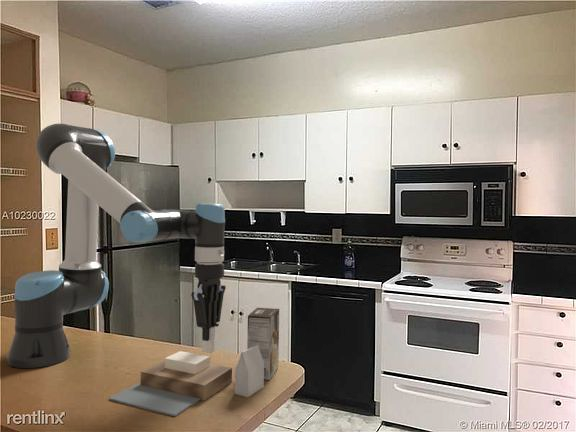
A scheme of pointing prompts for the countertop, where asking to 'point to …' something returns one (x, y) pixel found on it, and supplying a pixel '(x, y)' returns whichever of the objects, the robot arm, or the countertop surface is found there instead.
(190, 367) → the tile
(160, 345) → the countertop surface
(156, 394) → the mat
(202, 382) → the brown flat block
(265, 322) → the coffee box
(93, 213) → the robot arm
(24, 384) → the countertop surface
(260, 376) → the tea bag
